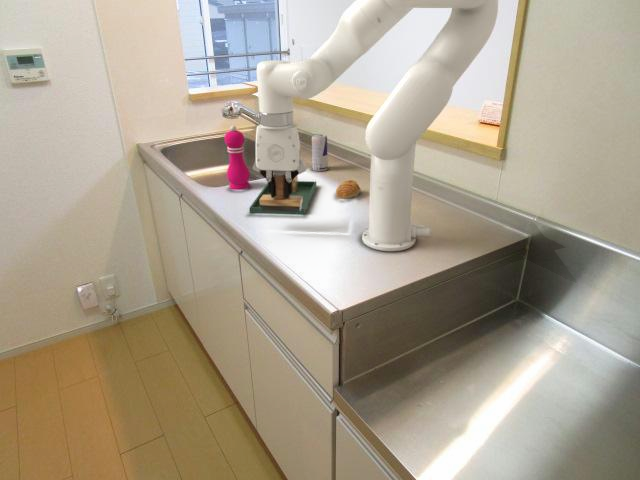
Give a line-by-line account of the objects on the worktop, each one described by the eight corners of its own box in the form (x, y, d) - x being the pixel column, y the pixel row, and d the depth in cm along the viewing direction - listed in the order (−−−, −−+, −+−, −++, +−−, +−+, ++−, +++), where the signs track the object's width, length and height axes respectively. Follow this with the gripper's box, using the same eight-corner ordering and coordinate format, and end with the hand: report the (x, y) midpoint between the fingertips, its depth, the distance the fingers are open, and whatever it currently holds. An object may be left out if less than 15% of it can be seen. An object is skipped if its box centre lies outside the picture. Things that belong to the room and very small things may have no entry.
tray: (316, 188, 142) (316, 181, 141) (304, 217, 121) (304, 209, 120) (269, 187, 144) (269, 180, 143) (250, 215, 123) (249, 207, 122)
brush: (302, 207, 112) (301, 172, 108) (300, 212, 109) (299, 176, 105) (263, 205, 113) (261, 171, 109) (260, 211, 110) (257, 175, 106)
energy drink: (330, 168, 161) (329, 134, 156) (322, 172, 157) (321, 138, 152) (317, 166, 164) (316, 133, 159) (309, 170, 160) (308, 136, 155)
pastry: (353, 202, 130) (353, 190, 129) (331, 200, 132) (331, 188, 131) (361, 191, 138) (361, 179, 137) (340, 190, 140) (340, 178, 139)
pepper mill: (253, 185, 147) (247, 122, 138) (248, 192, 140) (241, 127, 132) (231, 184, 148) (224, 123, 139) (225, 192, 141) (217, 128, 132)
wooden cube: (298, 187, 141) (297, 175, 139) (295, 192, 137) (295, 179, 135) (285, 187, 141) (284, 175, 140) (282, 191, 138) (282, 179, 136)
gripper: (236, 122, 99) (244, 200, 107) (309, 123, 97) (311, 202, 105) (246, 115, 106) (252, 189, 114) (314, 116, 104) (316, 191, 112)
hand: (281, 195), depth 109 cm, fingers closed on brush, 2 cm apart
